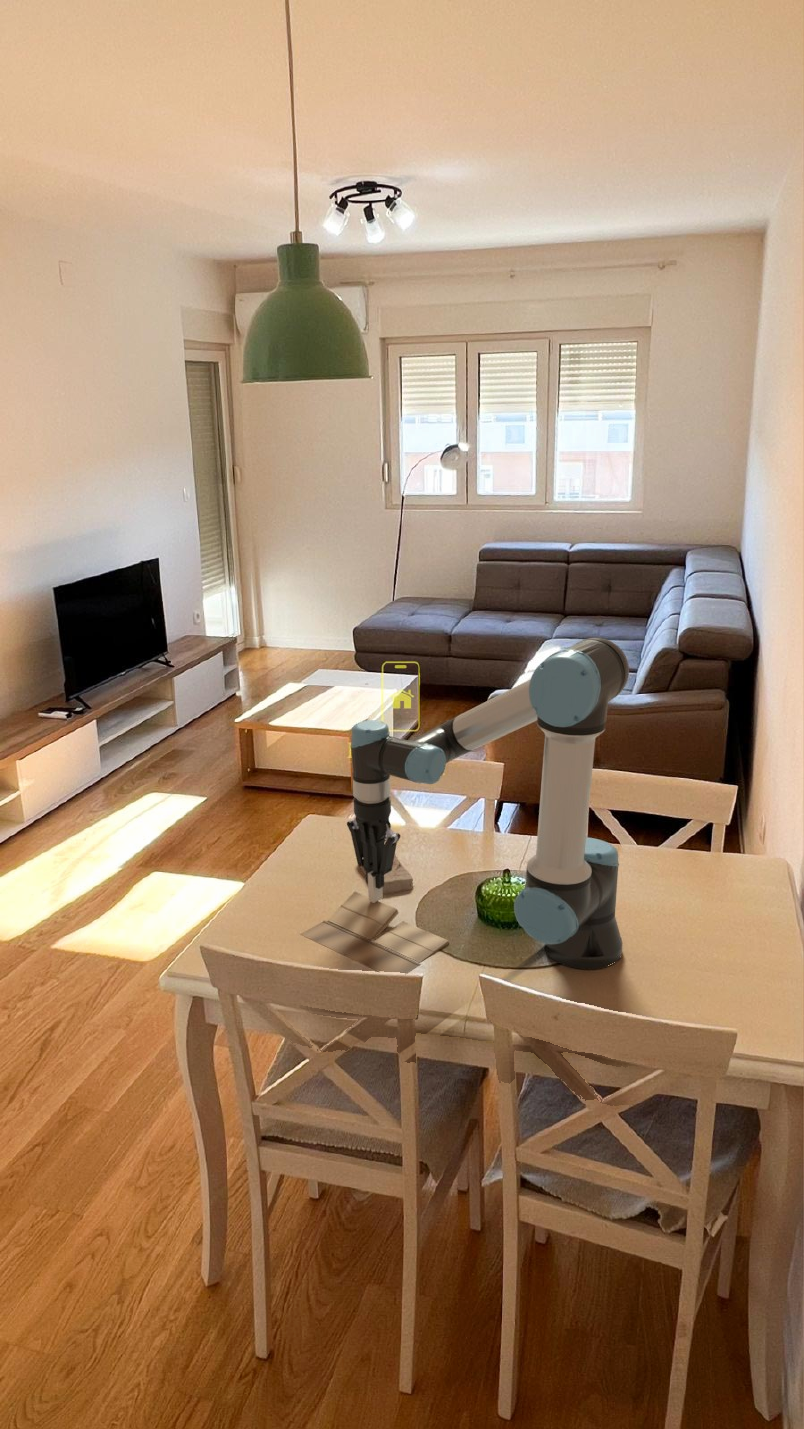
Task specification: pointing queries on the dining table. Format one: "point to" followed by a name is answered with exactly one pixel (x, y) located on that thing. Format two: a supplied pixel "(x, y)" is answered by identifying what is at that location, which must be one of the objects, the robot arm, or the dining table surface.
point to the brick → (396, 878)
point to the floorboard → (359, 948)
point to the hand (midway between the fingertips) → (375, 899)
